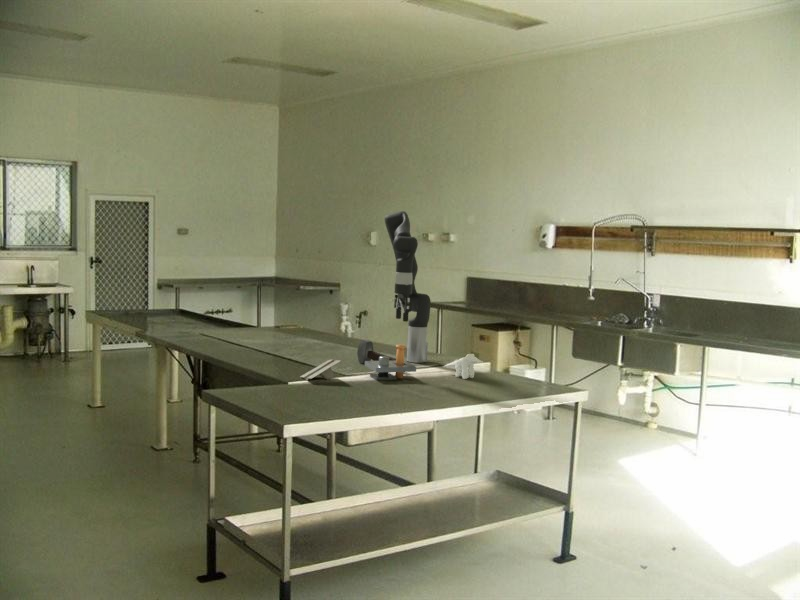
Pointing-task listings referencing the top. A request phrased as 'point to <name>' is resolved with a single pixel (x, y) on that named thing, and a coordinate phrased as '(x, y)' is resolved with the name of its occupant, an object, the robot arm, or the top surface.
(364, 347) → the hammer
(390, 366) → the plate with round knob
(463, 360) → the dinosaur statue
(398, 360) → the pin
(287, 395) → the top surface
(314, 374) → the gray slanted slat stand
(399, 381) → the top surface
